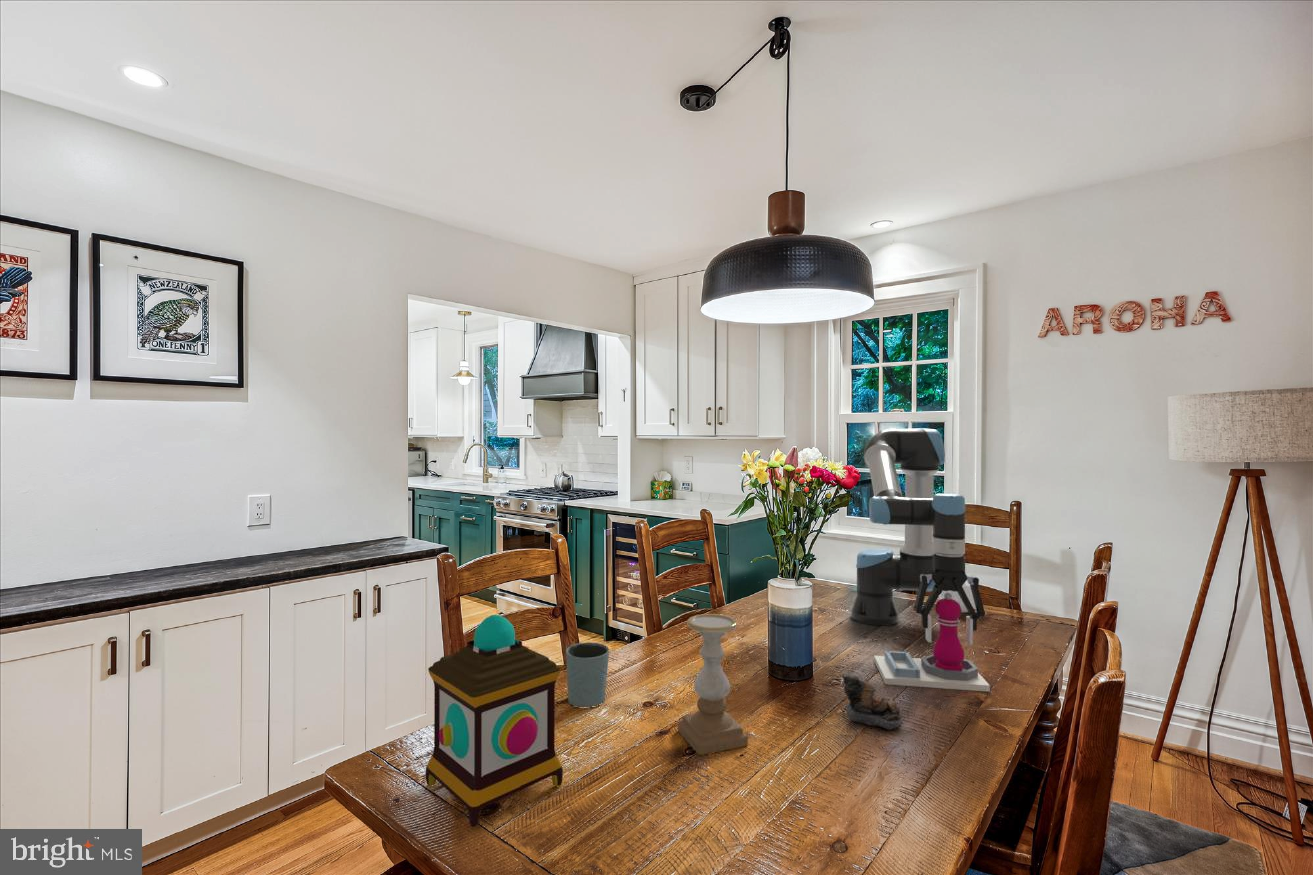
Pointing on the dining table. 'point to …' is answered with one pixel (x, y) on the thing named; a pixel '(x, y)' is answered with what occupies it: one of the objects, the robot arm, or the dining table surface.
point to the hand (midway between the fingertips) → (948, 641)
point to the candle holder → (712, 692)
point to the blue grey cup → (587, 673)
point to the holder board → (927, 673)
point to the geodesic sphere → (957, 598)
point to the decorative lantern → (493, 718)
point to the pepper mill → (948, 635)
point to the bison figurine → (870, 704)
